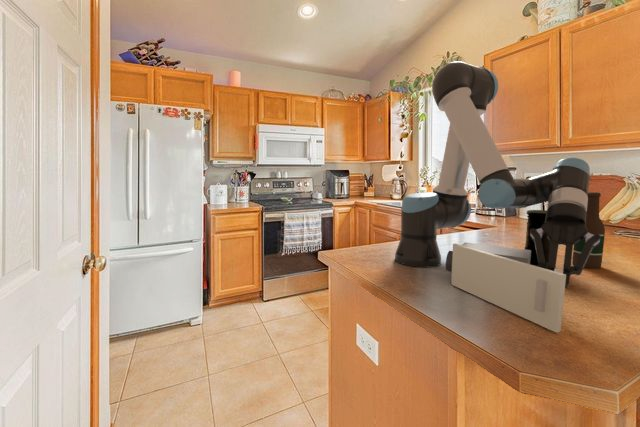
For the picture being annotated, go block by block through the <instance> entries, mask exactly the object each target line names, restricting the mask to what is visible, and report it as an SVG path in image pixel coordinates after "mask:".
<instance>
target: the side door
mask: <svg viewBox="0 0 640 427" xmlns="http://www.w3.org/2000/svg"><path fill="white" fill-rule="evenodd" d="M452 251H453V254H452V272H450V273H451V276H450V285H452V286H454V287H456V288H458V289H461V290H463V291H465V292H467V293H469V294H472V295H474V296H475V297H478V298H480V299H482V300H485V301H487V302H489V303H491V304H493V305H495V306H497V307H500V308H502V309H503V310H506V311H508V312H510V313H512V314H514V315H516V316H519V317H521V318H523V319H526V320H528V321H531V322H532V323H535V324H537V325H539V326H541V327H543V328H546V329H547V330H549V331H552V332H554V333H560V332H561V331H562V323H563V322H562V321H563V310H564V302H565V300H564V299H565V291H566V288H565V282H566V274H562V273H559V272H555V271H552V270H548V269H544V268H541V267H537V266H534V265H530V264H527V263H523V262H520V261H516V260H512V259H509V258H505V257H502V256H498V255H495V254H491V253H488V252H484V251H480V250H477V249H473V248H470V247H466V246H463V245H462V244H458V243H452Z"/></svg>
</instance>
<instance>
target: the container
mask: <svg viewBox="0 0 640 427" xmlns="http://www.w3.org/2000/svg"><path fill="white" fill-rule="evenodd" d="M546 213H547V209H546V210H544V209H542V210H541V209H529V210H526V215H527V217H526V218H527V222H526V232H525V243H524V248H523V249H524V250H531V259H530V265H534V266H537V267H539V265H538V260H537V254H536V248H535V243H534V241H533V240H532V238H531V237H530V229H532V228H534V229H540V228H542V225H543V224H544V223H545V219H546ZM541 242H542V247H543V252H544V257H545V262H548V263H549V257H550V250H551V243H552V242H550V241H549V239H548V238H547V237H546V236H545V235H544V234H542V238H541Z"/></svg>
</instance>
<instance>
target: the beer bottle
mask: <svg viewBox="0 0 640 427" xmlns="http://www.w3.org/2000/svg"><path fill="white" fill-rule="evenodd" d="M600 197H602V194H601V193H600V192H598V191H597V192H596V191H595V192H591V191H588V203H587V212H586V213H587V215H586V228H587V229H588V232H589V233H590V234H592V235H596V234H597V235H600V242H599V245H597V246H596V247H595V248H593V249H592V252H591V254H590V256H589V258H588V260H587V262H586V264H585V266H584V268H585V269H590V270H591V269H592V270H593V269H594V270H595V269H598V270H599V269H601V268H602V263H603V262H602V261H603V253H604V244H605V238H606V237H605V235H606V228H605V225H604V222H603V221H602V219H601V218H600ZM585 239H586V238H583V239H582V240H580V241H579V242H578V243H576V244H574V245H573V249H572V260H571V265H572V266H575V264H576V262H577V260H578V258H579V256H580V254H581V252H582V250H583V248H584V246H585V244H586V243H585ZM584 268H583V269H584Z"/></svg>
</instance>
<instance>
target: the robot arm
mask: <svg viewBox="0 0 640 427" xmlns="http://www.w3.org/2000/svg"><path fill="white" fill-rule="evenodd" d="M498 91H499V80H498V78H497V76H496V74H495V73H494V72H493V71H491V70H489V69H488V68H486V67H483V66H477V65H473V64H470V63H467V62H464V61H460V60H459V61H451V62H448V63H446V64H445V65H443V66H442V67H440V68H439V69H438V71H437V72H436V74H435V76H434V77H433V80H432V85H431V92H432V97H433V99H434V102H435V104H436V106H437V108H438V109H439V111H440V112H444V114H445V116H446V118H447V120H448V121H449V127H448V133H447V137H446V141H445V142H446V143H445V146H444V147H445V148H444V154H443V159H442V164H441V170H440V175H439V179H438V185H436V186H434V188H433V189H432V191H430V192H415V193H410V194H406V195H405V196H404V197H403V198H402V199H401V200H402V202H401V207H400V208H401V209H400V210H401V212H400V213H401V218H400V221H401V222H400V224H401V225H400V226H401V227H400V239H399V242H398V246H397V248H396V250H395V255H394V259H395V260H394V261H396V262H397V263H399V264H401V265H404V266H405V265H406V266H411V267H419V268H432V267H438V266H439V265H441V264H442V255H441V251H440V248H439V245H438V241H437V234H438V233H437V232H438V231H437V230H439V229H441V230H442V229H451V228H455V227H458V226H462V225H464V224H465V223H466V222H467V221H468V220H469V218H470V215H471V213H472V205H471V203H470V201H469V199H468V195H469V193H468V192H467V190H466V189H465V188H466V181H467V177H468V172H469V169H470V168H469V167H470V166H471V168H472V171H473V172H474V173H475V175H476V177H477V179H478V183H479V184H480V185H479V189H478V196H477V197H478V199H479V201H480V203H481V204H482V205H483V207H486V208H489V209H501V210H502V209H507V208H510V209H514V210H515V209H517V210H518V209H524V208H527V207H530V206H534V205H535V206H536V205H539V204H544V203H547V208H546V211H547V213H546V219H545V223H544V224H543V225H542V228H540V229H534V228H532V229H530V237H531V238H532V240H533V241H534V243H535V248H536V254H537V260H538V265H539V267H541V268H544V269H548V270H552V271H555V272H559V273H562V274H566V282H565V289H568V288H569V286H570V280H571V279H570V277H571V276H572V275H575V276H580V275H581V274H582V272H583V270H584V266H585V264H586V262H587V260H588V258H589V256H590V254H591V252H592V249H593V248H595V247H596V246H597V245H599V242H600V235H597V234H596V235H592V234H590V233H589V232H588V229H587V228H586V215H587V213H586V212H587V203H588V192H589V189H590V188H589V186H590V180H591V173H590V165H589V163H588V162H587V161H585V160H583V159H581V158H578V157H566V158H562V159H560V160H558V162H556V163H555V164H554V166H553V168H552V171H549V172H545V173H543V174H541V175H535V176H533V177H529V178H521V179H520V178H519V179H518V178H514V177H513V175H512V173H511V171H510V169H509V168H508V165H507V164H506V162H505V160H504V158H503V157H502V155H501V153H500V151H499V149H498V146H497V145H496V143H495V141H494V139H493V138H492V136H491V134H490V132H489V130H488V128H487V126H486V124H485V122H484V121H483V119H482V117H481V116H482V115H483V114H484V113H486V111H487V107H488V105H489V104H491V102H492V101H493V100H494V99H495V98H496V96H497V94H498ZM542 234H544V235H545V236H546V237H547V238H548V239H549V241H550V242H552V243H551V250H550V257H549V263H548V262H545V257H544V252H543V247H542V242H541V238H542ZM583 238H586V239H585V243H586V244H585V246H584V248H583V250H582V252H581V254H580V256H579V258H578V260H577V262H576V264H575V265H572V258H573V248H574V244H576V243H578V242H579V241H580V240H582V239H583ZM560 245H562V246H565V249H564V258H563V268H562V269H561V268H557V267H556V266H557V258H558V252H559V246H560Z"/></svg>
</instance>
